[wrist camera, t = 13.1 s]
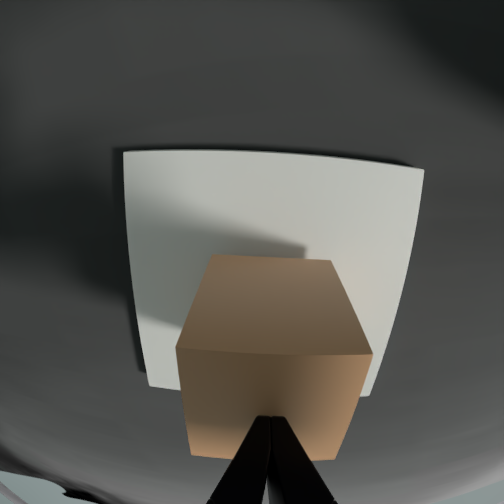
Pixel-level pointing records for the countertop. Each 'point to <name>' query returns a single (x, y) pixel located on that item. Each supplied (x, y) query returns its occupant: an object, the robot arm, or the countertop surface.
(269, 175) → the post stand
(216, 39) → the countertop surface
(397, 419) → the countertop surface
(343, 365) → the tan wooden brick
